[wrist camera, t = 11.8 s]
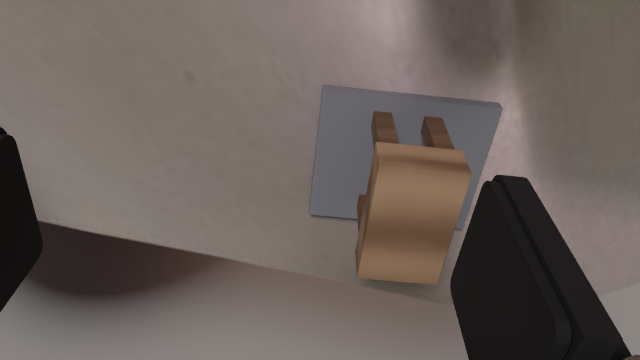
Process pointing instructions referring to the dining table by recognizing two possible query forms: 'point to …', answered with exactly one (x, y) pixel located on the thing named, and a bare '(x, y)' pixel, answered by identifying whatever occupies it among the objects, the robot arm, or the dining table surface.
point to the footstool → (409, 203)
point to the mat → (408, 114)
